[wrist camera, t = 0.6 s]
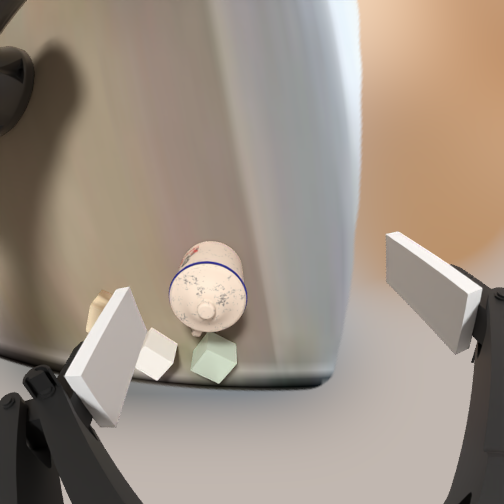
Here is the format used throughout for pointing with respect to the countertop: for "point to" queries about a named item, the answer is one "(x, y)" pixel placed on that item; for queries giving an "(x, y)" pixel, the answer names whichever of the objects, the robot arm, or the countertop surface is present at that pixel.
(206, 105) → the countertop surface
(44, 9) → the countertop surface
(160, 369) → the white painted cube
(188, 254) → the teacup with lid
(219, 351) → the sage painted cube
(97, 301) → the maple cube
